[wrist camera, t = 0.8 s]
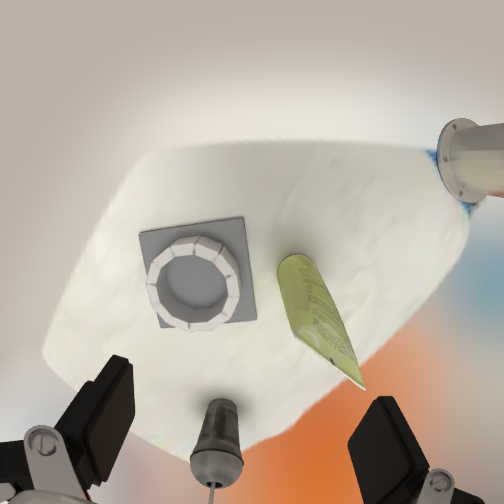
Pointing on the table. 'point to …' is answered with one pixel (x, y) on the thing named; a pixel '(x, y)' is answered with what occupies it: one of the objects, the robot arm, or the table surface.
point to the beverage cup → (218, 448)
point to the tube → (316, 316)
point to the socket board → (199, 275)
